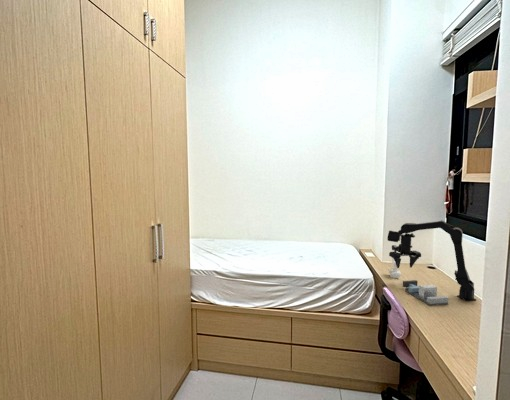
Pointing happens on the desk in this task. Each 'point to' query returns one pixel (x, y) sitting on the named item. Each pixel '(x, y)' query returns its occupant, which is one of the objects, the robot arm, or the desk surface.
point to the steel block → (427, 291)
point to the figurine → (394, 271)
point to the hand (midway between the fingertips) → (404, 267)
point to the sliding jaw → (411, 285)
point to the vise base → (416, 294)
